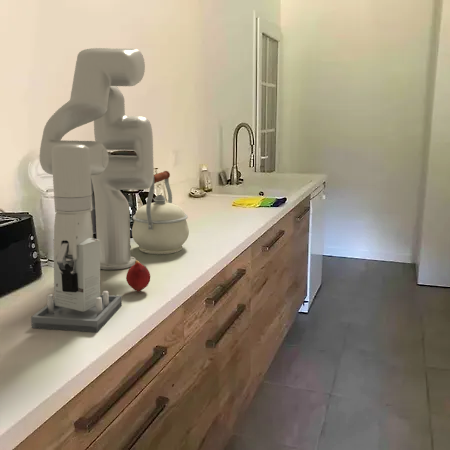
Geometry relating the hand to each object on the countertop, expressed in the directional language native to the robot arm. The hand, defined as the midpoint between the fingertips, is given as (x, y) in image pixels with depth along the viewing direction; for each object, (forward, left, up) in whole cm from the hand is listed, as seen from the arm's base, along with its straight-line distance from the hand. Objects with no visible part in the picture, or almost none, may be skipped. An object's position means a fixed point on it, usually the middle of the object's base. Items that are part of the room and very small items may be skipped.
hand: (77, 284), depth 111 cm
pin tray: (0, 0, -7) cm, 7 cm away
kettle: (-60, +3, -7) cm, 61 cm away
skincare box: (0, 0, -5) cm, 5 cm away
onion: (-17, +8, -7) cm, 20 cm away
